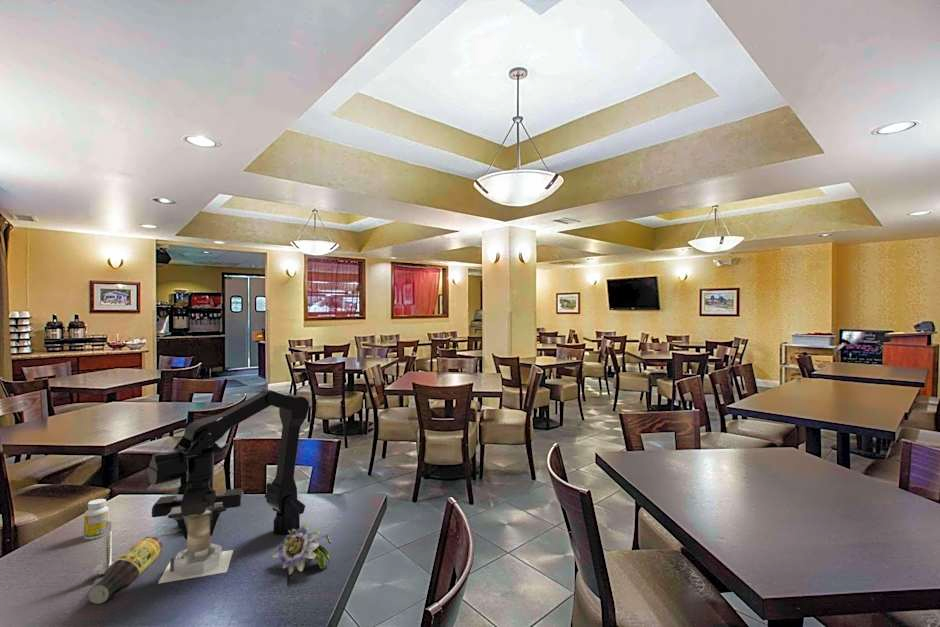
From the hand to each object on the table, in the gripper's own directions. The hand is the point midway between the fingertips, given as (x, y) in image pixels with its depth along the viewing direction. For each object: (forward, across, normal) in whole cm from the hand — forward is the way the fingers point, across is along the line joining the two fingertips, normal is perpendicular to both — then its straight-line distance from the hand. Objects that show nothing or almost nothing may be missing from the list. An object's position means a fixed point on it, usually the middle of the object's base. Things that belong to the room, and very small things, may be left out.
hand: (199, 536), depth 109 cm
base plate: (+8, 0, 0) cm, 8 cm away
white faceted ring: (+7, 0, 0) cm, 7 cm away
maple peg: (+2, 0, 0) cm, 2 cm away
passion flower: (+8, +24, -7) cm, 26 cm away
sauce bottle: (+5, -13, +10) cm, 17 cm away
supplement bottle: (+8, -31, +29) cm, 44 cm away
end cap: (+8, -5, +26) cm, 28 cm away
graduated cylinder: (+8, -20, +4) cm, 22 cm away
